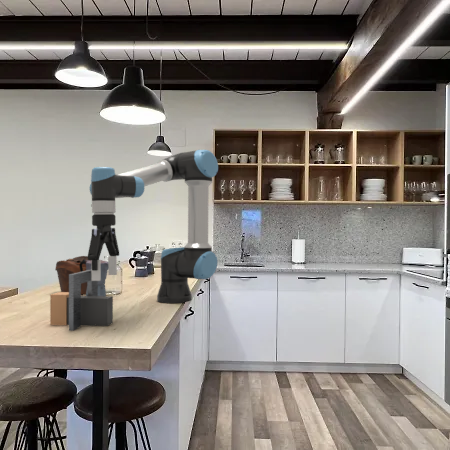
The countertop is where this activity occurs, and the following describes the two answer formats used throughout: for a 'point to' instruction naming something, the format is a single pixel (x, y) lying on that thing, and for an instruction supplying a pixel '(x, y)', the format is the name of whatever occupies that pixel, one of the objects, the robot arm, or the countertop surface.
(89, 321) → the plug
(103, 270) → the moka pot
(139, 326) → the countertop surface
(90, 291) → the grey arch
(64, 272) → the case
